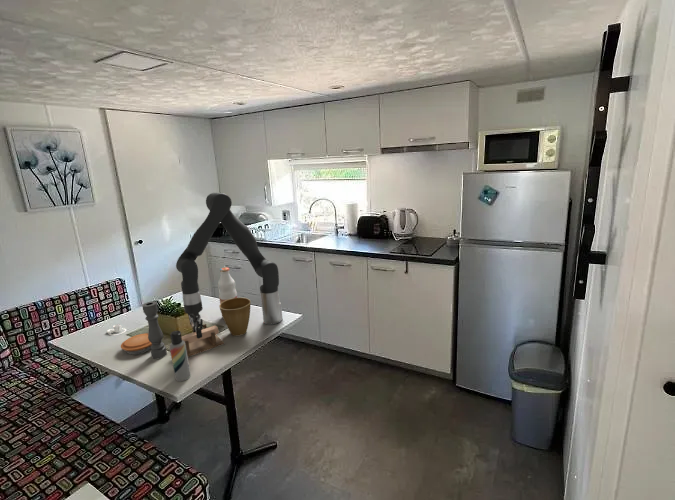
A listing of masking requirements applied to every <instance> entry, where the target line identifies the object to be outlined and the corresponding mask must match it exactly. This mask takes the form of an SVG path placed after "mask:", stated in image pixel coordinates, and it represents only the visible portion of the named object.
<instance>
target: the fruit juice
mask: <svg viewBox="0 0 675 500" xmlns="http://www.w3.org/2000/svg"><path fill="white" fill-rule="evenodd" d="M219 273H220V278H219V279H218V283H217V288H218V290H219V291H218V299H219V305H220V304H221V303H222V302H224V301H226V300H228V299H232V298H238V292H237V289H236V281H235V280H234V278H233V277H232V276H231V274H230V267H221V268H219ZM221 317H222V319H223V316H222V315H221Z"/></svg>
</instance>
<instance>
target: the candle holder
mask: <svg viewBox="0 0 675 500" xmlns="http://www.w3.org/2000/svg"><path fill="white" fill-rule="evenodd" d="M141 306H142V311H143V313H144V315H145V316H146V317H145V320H146V321H147V324H148V325H147V326H148V331H147V333H148V339H149V341H150V342H151V343H152V346H151V349H150V355H151V358H152V359H154V360H159V359H163V358H164V357H166V356H167V355H168V353H167V347H166V345H165V343H164V342H163V338H164V333H163V331H162V329H161V326H160V324H159V321H158V318H159V317H160V316H159V314H157V313H158V310H159V309H158V303H157V301H147V302H144V303H143V304H142V305H141Z"/></svg>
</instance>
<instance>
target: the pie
mask: <svg viewBox="0 0 675 500" xmlns="http://www.w3.org/2000/svg"><path fill="white" fill-rule="evenodd" d="M151 346H152V343H151V342H150V341H149V339H148V332H147V333H145V332H144V333H140V334H136V335H133V336H131V337H129V338H127V339H125V340H124V341H123V342H122V343H121V344H120V348H121V350H123V351H125V352H126V353H127V354H129V355H139V354H143V353H146V352H148V351H151Z"/></svg>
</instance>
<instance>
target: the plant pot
mask: <svg viewBox="0 0 675 500" xmlns="http://www.w3.org/2000/svg"><path fill="white" fill-rule="evenodd" d="M219 311H220V313H221V317H222V316H223V318H222V319H223V321H224V324H225V325H226V327H227V329H228V331H229V332H230V334H231V335H232V336H234V337H238V336H240V337H241V336H243V335H245V334H246V333H247V332H248V328H249V321H250V316H251V299H249V298H247V297H237V298H232V299H228V300H226V301H224V302H222V303H221V304H220V303H219Z"/></svg>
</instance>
